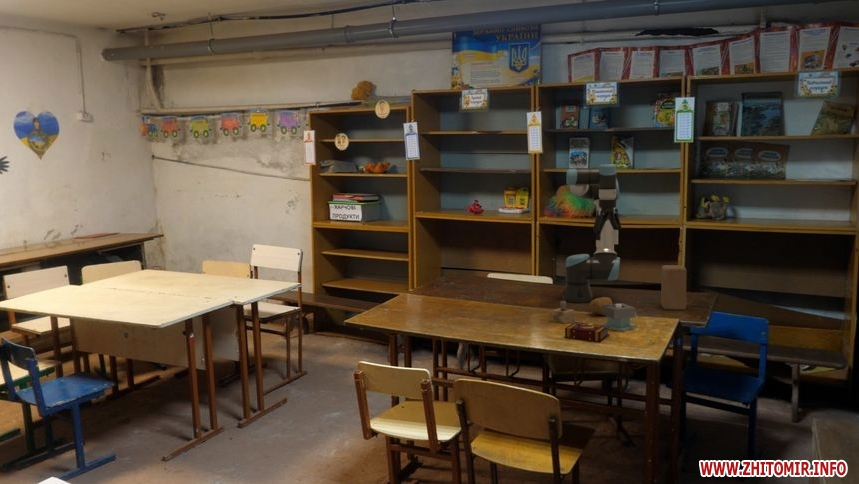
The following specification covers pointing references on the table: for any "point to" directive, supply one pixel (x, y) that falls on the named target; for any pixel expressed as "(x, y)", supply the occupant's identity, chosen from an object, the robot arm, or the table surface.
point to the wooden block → (673, 287)
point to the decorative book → (587, 331)
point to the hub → (619, 323)
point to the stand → (563, 314)
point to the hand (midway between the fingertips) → (607, 245)
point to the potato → (599, 304)
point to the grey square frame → (618, 311)
